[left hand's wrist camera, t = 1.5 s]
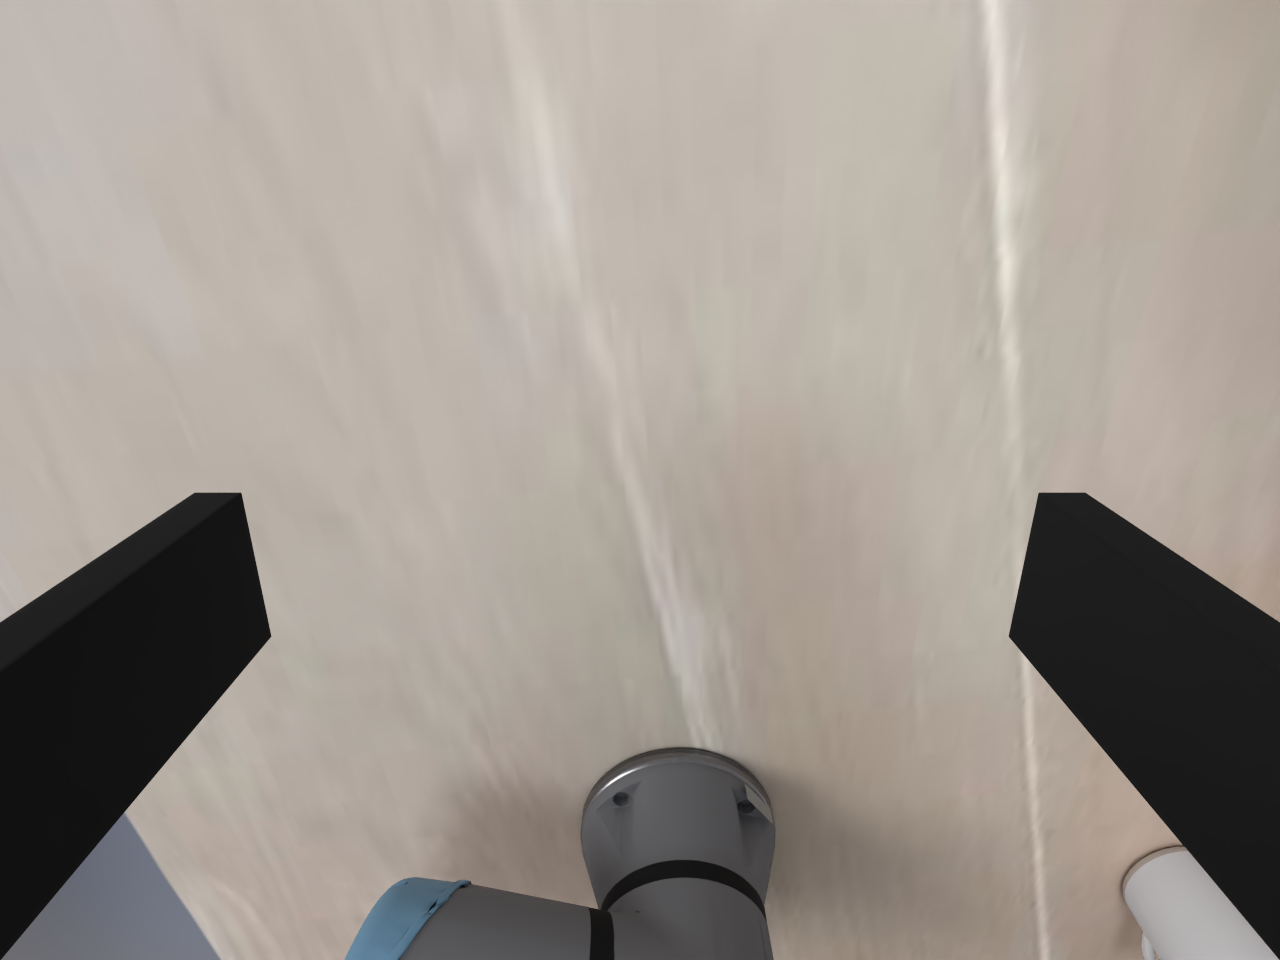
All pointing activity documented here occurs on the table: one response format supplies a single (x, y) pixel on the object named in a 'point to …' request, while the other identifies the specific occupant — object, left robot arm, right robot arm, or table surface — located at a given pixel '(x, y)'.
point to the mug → (1187, 912)
